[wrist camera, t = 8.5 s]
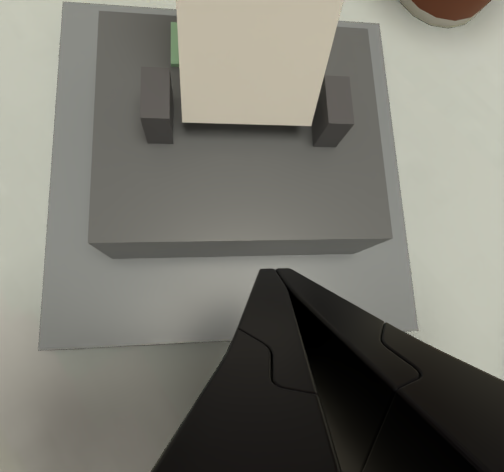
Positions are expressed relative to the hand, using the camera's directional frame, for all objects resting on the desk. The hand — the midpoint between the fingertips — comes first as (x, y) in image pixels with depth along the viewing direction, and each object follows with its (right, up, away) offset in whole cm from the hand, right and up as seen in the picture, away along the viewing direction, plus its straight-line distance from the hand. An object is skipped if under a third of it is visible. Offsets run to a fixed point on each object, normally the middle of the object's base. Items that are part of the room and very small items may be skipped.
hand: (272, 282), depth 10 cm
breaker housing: (-2, +5, +10) cm, 12 cm away
